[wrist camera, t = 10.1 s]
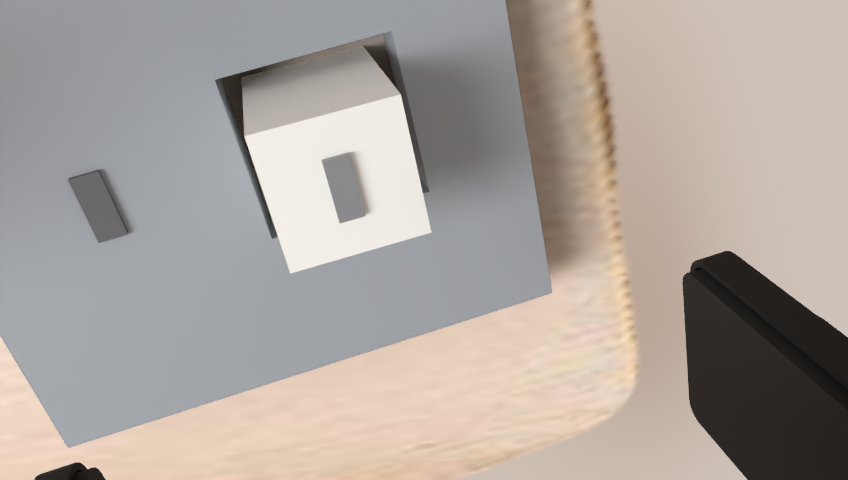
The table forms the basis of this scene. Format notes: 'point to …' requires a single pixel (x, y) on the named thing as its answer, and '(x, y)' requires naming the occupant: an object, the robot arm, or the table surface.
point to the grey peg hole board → (234, 200)
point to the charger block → (333, 157)
